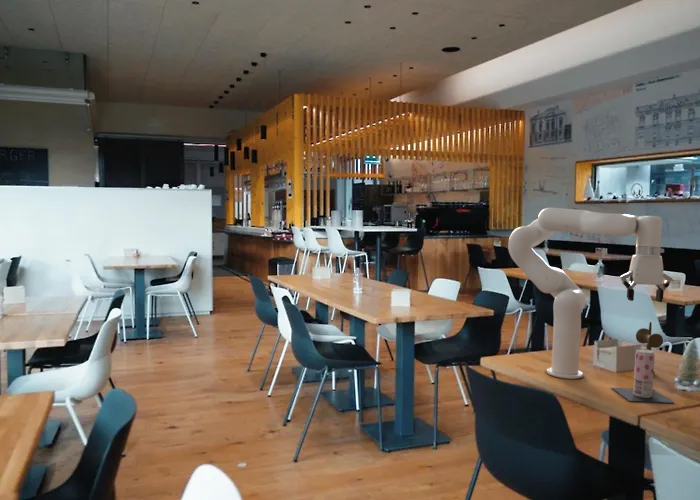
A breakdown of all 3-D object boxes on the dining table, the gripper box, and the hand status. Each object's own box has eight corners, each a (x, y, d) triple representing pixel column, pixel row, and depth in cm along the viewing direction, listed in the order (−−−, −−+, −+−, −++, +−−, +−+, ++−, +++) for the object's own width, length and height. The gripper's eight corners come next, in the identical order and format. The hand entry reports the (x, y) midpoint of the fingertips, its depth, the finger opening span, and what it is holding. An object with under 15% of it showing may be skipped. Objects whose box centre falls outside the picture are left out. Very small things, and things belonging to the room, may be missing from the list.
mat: (611, 388, 204) (611, 387, 204) (653, 390, 204) (653, 389, 203) (629, 401, 190) (629, 400, 190) (673, 403, 190) (673, 402, 190)
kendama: (648, 370, 230) (651, 319, 229) (662, 377, 220) (665, 324, 219) (632, 370, 230) (636, 319, 229) (646, 377, 220) (649, 323, 219)
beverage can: (650, 393, 198) (653, 349, 197) (653, 398, 193) (656, 353, 192) (631, 391, 200) (634, 348, 199) (634, 396, 194) (637, 351, 193)
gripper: (668, 251, 208) (664, 300, 209) (617, 250, 208) (614, 298, 210) (679, 253, 200) (675, 303, 201) (627, 251, 201) (623, 301, 202)
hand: (644, 300), depth 206 cm, fingers open, 9 cm apart
